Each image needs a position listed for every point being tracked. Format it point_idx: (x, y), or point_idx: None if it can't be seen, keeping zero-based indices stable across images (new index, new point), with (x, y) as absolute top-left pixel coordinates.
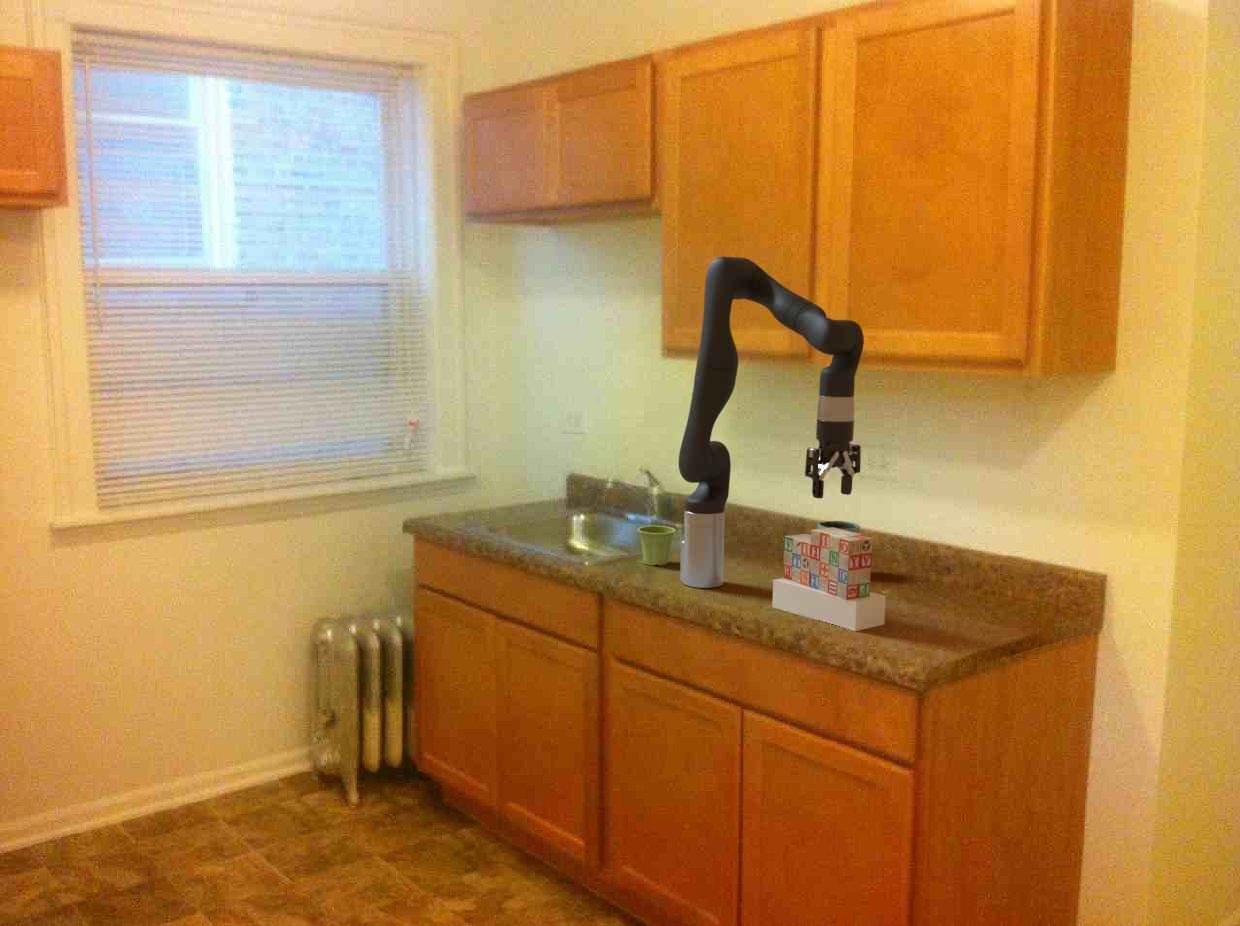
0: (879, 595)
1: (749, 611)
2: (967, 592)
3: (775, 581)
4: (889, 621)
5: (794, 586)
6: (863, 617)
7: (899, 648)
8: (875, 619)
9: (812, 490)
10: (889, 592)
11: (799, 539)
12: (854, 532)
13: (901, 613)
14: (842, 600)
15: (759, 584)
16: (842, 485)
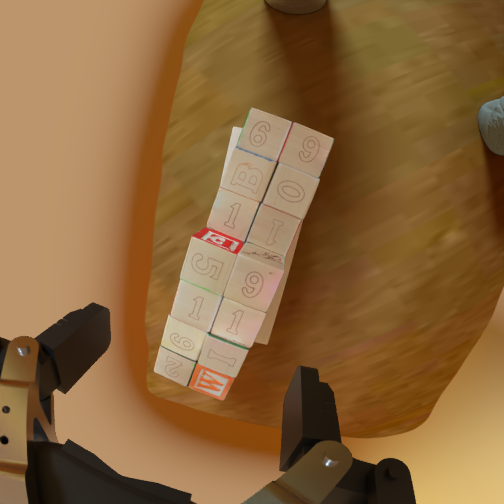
0: (262, 337)
1: (194, 125)
2: (483, 321)
3: (232, 133)
4: (291, 319)
5: (220, 184)
6: None
7: None
8: None
9: (64, 318)
10: (450, 244)
11: (236, 169)
12: (244, 356)
13: (346, 313)
14: None
15: (363, 50)
16: (298, 399)
